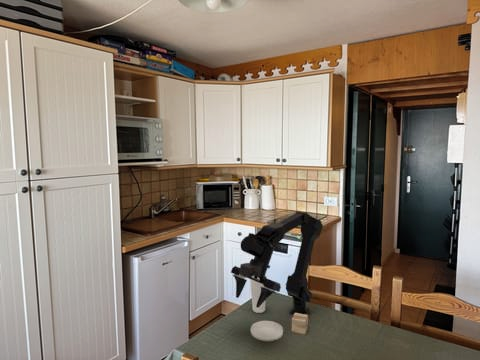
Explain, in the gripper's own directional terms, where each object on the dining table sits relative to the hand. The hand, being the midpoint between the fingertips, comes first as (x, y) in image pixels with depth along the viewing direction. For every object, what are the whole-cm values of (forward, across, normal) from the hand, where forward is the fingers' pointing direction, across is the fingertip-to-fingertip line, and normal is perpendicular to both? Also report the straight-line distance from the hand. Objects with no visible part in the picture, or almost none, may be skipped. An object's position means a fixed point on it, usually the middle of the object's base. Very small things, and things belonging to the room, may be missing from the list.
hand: (246, 302), depth 118 cm
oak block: (+3, +11, +23) cm, 25 cm away
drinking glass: (+4, -9, +25) cm, 26 cm away
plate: (+8, +3, +15) cm, 17 cm away
